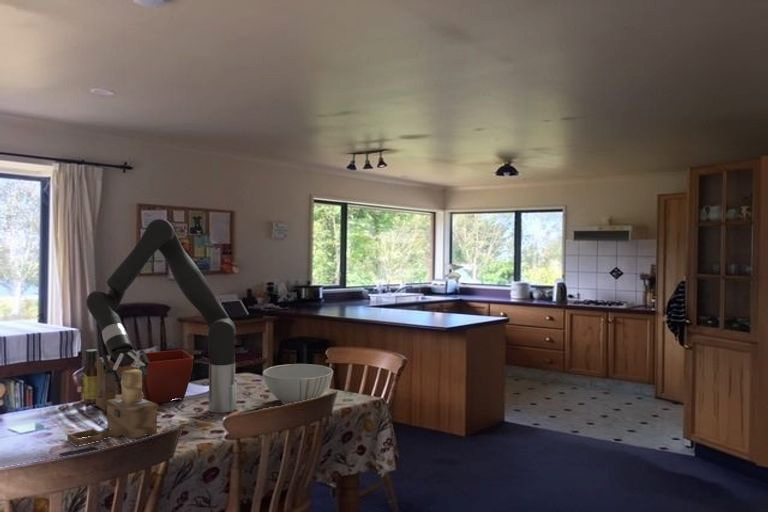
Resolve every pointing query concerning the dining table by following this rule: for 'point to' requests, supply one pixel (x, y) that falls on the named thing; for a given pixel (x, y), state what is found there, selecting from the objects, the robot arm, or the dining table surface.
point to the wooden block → (104, 386)
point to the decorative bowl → (297, 381)
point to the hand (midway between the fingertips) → (132, 379)
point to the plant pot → (167, 375)
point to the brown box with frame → (122, 422)
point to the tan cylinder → (131, 386)
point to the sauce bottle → (90, 376)
